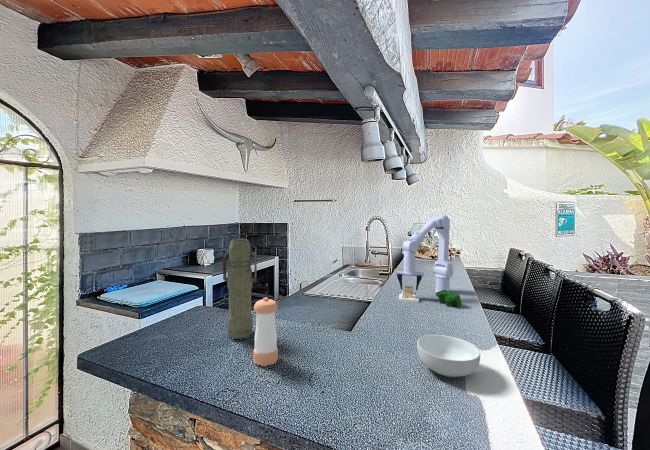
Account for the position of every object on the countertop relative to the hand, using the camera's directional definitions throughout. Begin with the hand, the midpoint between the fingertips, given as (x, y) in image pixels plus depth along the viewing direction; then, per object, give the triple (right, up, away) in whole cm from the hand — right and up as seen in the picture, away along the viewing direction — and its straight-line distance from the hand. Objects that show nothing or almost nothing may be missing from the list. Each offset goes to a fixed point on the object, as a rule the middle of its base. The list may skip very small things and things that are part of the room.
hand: (409, 289), depth 155 cm
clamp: (+17, -6, -8) cm, 20 cm away
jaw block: (0, -4, 0) cm, 4 cm away
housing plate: (0, -5, 0) cm, 5 cm away
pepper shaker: (-62, -7, -66) cm, 91 cm away
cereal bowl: (-9, -8, -70) cm, 71 cm away
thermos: (-75, -7, -47) cm, 89 cm away
